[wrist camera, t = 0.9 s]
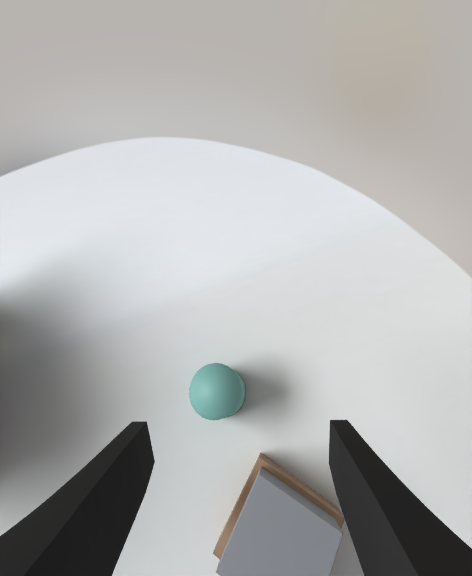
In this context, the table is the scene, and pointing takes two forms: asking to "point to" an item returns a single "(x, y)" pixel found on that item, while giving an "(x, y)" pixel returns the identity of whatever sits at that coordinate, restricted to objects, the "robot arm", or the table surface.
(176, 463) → the table surface
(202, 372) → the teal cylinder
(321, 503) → the walnut base block
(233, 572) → the grey top block
